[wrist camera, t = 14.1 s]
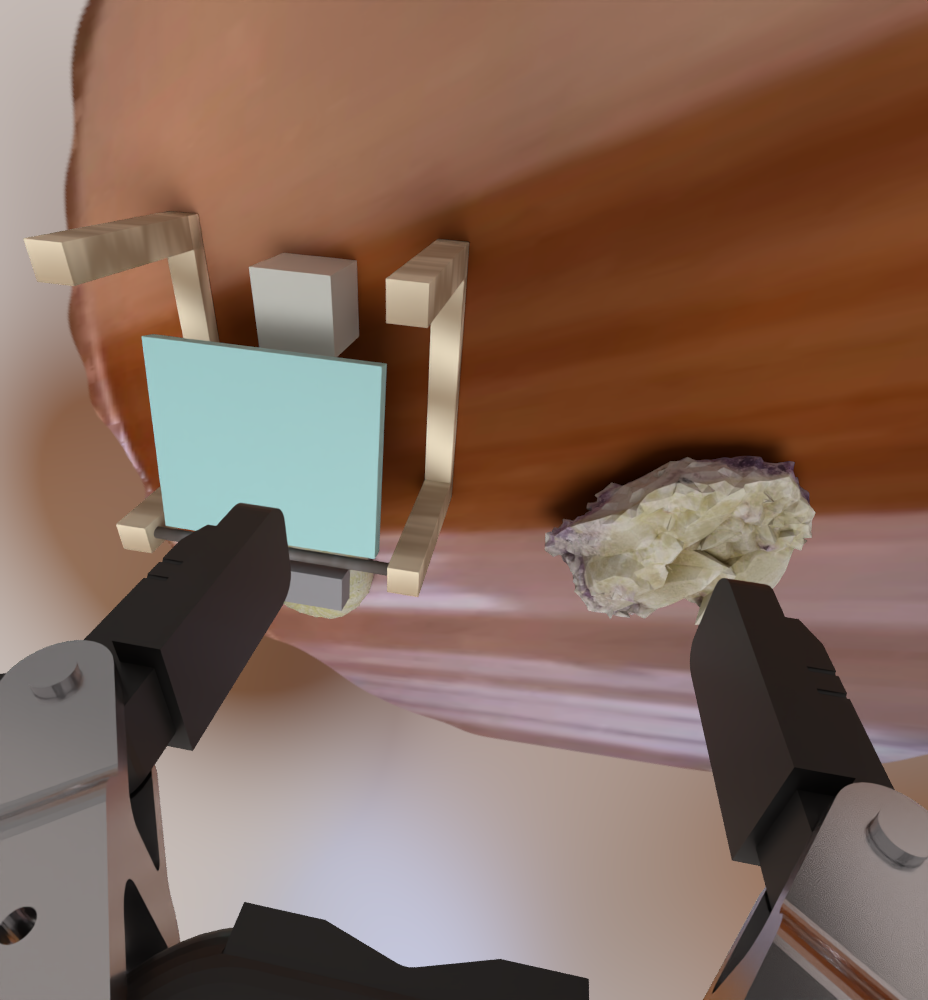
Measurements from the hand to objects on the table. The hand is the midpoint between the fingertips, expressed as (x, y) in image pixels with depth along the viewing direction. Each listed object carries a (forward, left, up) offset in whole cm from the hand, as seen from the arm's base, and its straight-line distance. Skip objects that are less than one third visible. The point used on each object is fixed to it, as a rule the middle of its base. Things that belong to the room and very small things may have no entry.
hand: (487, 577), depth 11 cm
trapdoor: (+12, -15, -21) cm, 28 cm away
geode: (+17, +12, -30) cm, 37 cm away
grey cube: (+6, -15, -28) cm, 32 cm away
